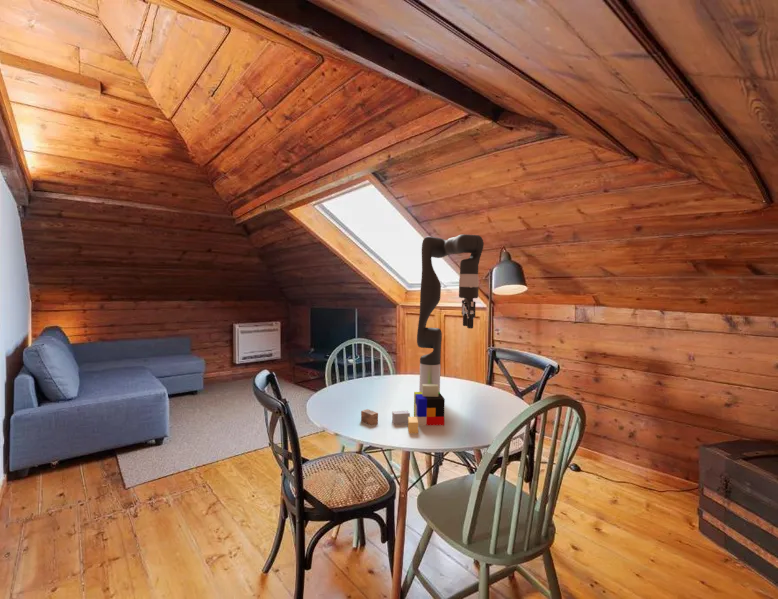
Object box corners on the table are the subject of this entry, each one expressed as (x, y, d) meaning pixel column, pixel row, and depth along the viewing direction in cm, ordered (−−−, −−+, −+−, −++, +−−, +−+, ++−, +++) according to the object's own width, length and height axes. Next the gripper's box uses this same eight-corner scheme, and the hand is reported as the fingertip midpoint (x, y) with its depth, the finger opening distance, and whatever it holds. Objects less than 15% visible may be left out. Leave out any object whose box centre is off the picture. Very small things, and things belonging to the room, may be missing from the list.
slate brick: (394, 424, 148) (394, 414, 148) (392, 421, 151) (392, 411, 151) (409, 423, 149) (409, 413, 149) (407, 420, 152) (407, 410, 152)
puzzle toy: (417, 425, 147) (418, 399, 147) (413, 416, 157) (414, 391, 157) (444, 425, 148) (444, 399, 147) (438, 416, 158) (439, 391, 157)
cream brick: (422, 396, 150) (422, 386, 150) (422, 394, 154) (422, 384, 153) (438, 396, 150) (438, 386, 150) (437, 394, 154) (437, 384, 153)
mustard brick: (407, 427, 145) (408, 416, 145) (416, 427, 145) (416, 416, 145) (408, 433, 139) (409, 422, 139) (417, 433, 139) (418, 422, 139)
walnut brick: (361, 421, 151) (361, 410, 151) (367, 419, 153) (367, 409, 153) (371, 425, 147) (371, 414, 146) (377, 423, 149) (378, 412, 149)
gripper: (456, 285, 161) (455, 325, 162) (462, 285, 147) (461, 329, 148) (474, 286, 161) (473, 325, 162) (482, 286, 147) (481, 329, 148)
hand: (467, 327), depth 155 cm, fingers open, 8 cm apart
